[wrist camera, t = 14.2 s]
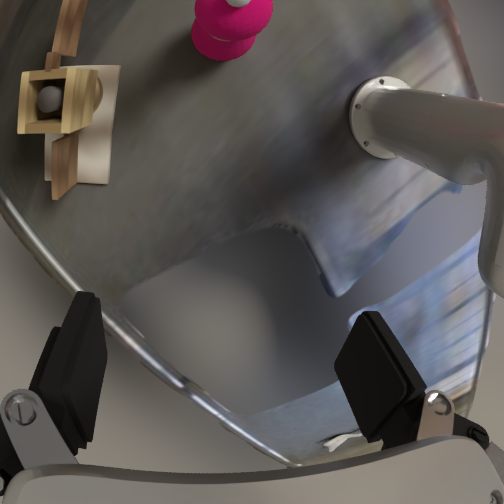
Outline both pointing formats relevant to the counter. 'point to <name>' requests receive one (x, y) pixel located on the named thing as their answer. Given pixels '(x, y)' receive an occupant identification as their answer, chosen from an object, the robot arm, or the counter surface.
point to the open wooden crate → (76, 85)
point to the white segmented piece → (339, 440)
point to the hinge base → (81, 135)
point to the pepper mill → (228, 26)
